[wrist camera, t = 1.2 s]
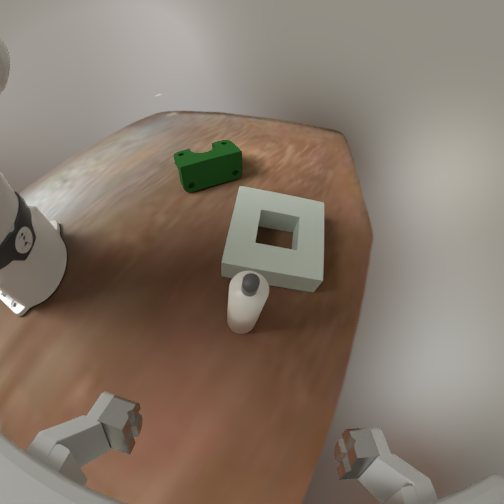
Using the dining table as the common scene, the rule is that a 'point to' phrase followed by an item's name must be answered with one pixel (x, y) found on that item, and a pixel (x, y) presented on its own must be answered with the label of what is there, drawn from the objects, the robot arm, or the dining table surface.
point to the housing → (271, 257)
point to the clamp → (209, 166)
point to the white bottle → (246, 300)
